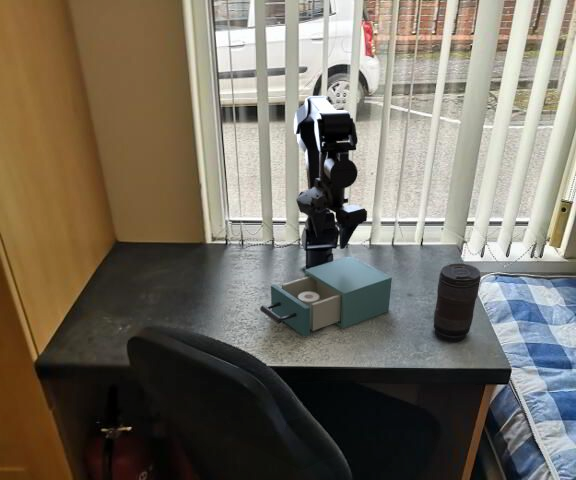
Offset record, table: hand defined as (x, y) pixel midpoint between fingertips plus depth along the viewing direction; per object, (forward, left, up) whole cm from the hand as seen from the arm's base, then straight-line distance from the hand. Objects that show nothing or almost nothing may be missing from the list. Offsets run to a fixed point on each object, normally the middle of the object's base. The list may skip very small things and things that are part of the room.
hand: (330, 242), depth 134 cm
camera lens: (+33, -3, -13) cm, 35 cm away
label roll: (+4, -15, -10) cm, 19 cm away
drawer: (+4, -17, -12) cm, 21 cm away
